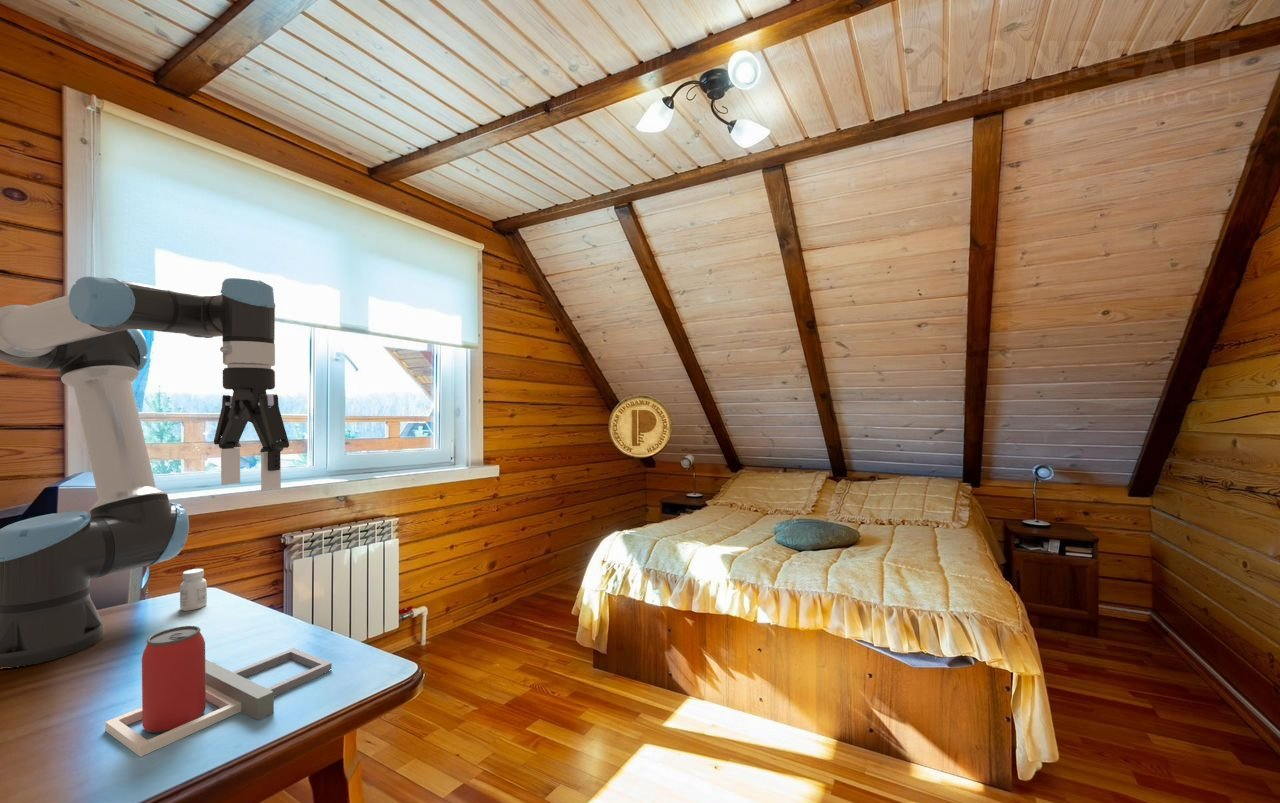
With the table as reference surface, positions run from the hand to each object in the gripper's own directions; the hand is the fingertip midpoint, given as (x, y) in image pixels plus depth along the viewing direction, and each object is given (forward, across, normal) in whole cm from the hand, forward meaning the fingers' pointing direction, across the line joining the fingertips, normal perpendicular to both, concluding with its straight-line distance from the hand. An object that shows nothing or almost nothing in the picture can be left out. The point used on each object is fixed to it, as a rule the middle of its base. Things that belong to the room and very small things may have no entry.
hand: (250, 486), depth 95 cm
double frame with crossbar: (+29, +15, -10) cm, 34 cm away
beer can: (+29, +15, -16) cm, 36 cm away
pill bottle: (+29, -32, +4) cm, 43 cm away
